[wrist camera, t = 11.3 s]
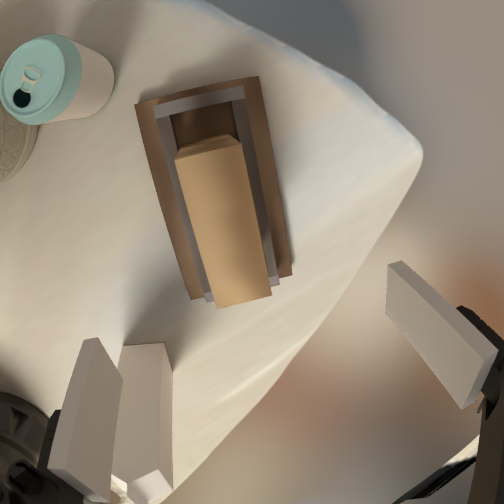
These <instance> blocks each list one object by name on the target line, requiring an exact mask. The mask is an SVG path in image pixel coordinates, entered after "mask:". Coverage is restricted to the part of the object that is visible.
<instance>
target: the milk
mask: <svg viewBox="0 0 504 504" xmlns="http://www.w3.org/2000/svg"><path fill="white" fill-rule="evenodd" d="M117 370H118V372H119V373H120V375H121V376H122V378H123V385H122V391H121V397H120V404H119V411H118V418H117V426H116V434H115V443H114V452H113V462H112V473H111V479H112V480H113V481H114V482H115V483H116V484H117V485H118V486H119V487H120V488H121V489H122V490H123V491H125V492H126V493H127V497H128V499H129V500H130V501H131V502H133V503H134V504H148V503H150V502H152V501H154V500H156V499H158V498H160V497H162V496H164V495H166V494H168V493H170V492H172V491H173V464H172V384H173V372H172V369H171V365H170V362H169V359H168V355H167V352H166V348H165V345H164V343H154V344H141V345H126V346H122V349H121V354H120V358H119V363H118V368H117Z"/></svg>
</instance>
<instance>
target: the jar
mask: <svg viewBox="0 0 504 504" xmlns="http://www.w3.org/2000/svg"><path fill="white" fill-rule="evenodd" d="M1 72H2V71H0V76H1ZM37 130H38V125H29V124H25V123H22V122H20V121H19V120H17V119H16V118H14V117H13V116H12V115H11V114H10V113H9V112H8V111H7V110H6V109H5V107H4V106H3V104H2V102H1V99H0V184H1V183H3V182H5V181H7V180H8V179H10V178H11V177H12V176H13V175H14V174H16V172H17V171H18V170H19V169H20V168H21V167H22V166H23V165H24V164H25V162H26V161H27V159H28V157H29V156H30V154H31V151H32V149H33V147H34V144H35V140H36V136H37Z"/></svg>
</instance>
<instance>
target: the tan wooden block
mask: <svg viewBox="0 0 504 504" xmlns="http://www.w3.org/2000/svg"><path fill="white" fill-rule="evenodd" d="M174 161H175V165H176V169H177V173H178V177H179V180H180V184H181V188H182V191H183V195H184V199H185V202H186V206H187V210H188V213H189V217H190V220H191V224H192V227H193V231H194V234H195V238H196V241H197V244H198V248H199V251H200V255H201V258H202V261H203V265H204V268H205V271H206V275H207V278H208V281H209V284H210V288H211V291H212V294H213V297H214V300H215V303H216V307H217V309H220V308H224V307H228V306H232V305H236V304H240V303H244V302H248V301H252V300H256V299H260V298H264V297H268V296H271V295H272V292H271V287H270V282H269V277H268V272H267V271H268V268H267V263H266V258H265V253H264V248H263V243H262V238H261V233H260V228H259V223H258V218H257V213H256V208H255V203H254V198H253V193H252V188H251V183H250V178H249V174H248V169H247V164H246V161H245V159H244V154H243V149H242V144H241V143H240V142H238V141H237V140H236V139H235V138H233V137H232V136H231V135H229V134H228V133H227V134H222V135H218V136H214V137H210V138H205V139H201V140H197V141H193V142H190V143H186V144H182V145H181V147H180V149H179V151H178V154H177V156H176V158H175V160H174Z"/></svg>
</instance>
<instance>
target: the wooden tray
mask: <svg viewBox="0 0 504 504" xmlns="http://www.w3.org/2000/svg"><path fill="white" fill-rule="evenodd" d="M134 106H135V110H136V115H137V119H138V123H139V127H140V131H141V135H142V139H143V143H144V147H145V151H146V155H147V159H148V163H149V166H150V170H151V174H152V177H153V181H154V185H155V188H156V192H157V195H158V199H159V202H160V206H161V209H162V212H163V216H164V219H165V222H166V226H167V229H168V232H169V236H170V239H171V242H172V245H173V248H174V251H175V255H176V258H177V261H178V264H179V267H180V270H181V273H182V276H183V279H184V282H185V285H186V288H187V291H188V294H189V296H190V299H191V300H193V299H197V298H201V297H205V299H206V302H212V301H215V300H214V297H213V294H212V291H211V288H210V284H209V281H208V278H207V275H206V271H205V268H204V265H203V261H202V258H201V255H200V251H199V248H198V244H197V241H196V238H195V234H194V231H193V227H192V224H191V220H190V217H189V213H188V210H187V206H186V202H185V199H184V195H183V191H182V188H181V184H180V180H179V177H178V173H177V169H176V165H175V161H174V160H175V158H176V156H177V154H178V151H179V149H180V147H181V145H182V144H186V143H190V142H193V141H197V140H201V139H205V138H210V137H214V136H218V135H222V134H227V133H228V134H229V135H231V136H232V137H233V138H235V139H236V140H237V141H238V142H240V143H241V144H242V149H243V154H244V159H245V161H246V164H247V169H248V174H249V178H250V183H251V188H252V193H253V198H254V203H255V208H256V213H257V218H258V223H259V228H260V233H261V238H262V243H263V248H264V253H265V258H266V263H267V268H268V271H267V272H268V277H269V282H270V287H273V286H277V285H280V283H279V278H283V277H287V276H291V275H292V268H291V261H290V255H289V248H288V241H287V235H286V228H285V222H284V216H283V209H282V203H281V197H280V191H279V185H278V179H277V173H276V167H275V162H274V156H273V150H272V145H271V139H270V134H269V128H268V123H267V117H266V112H265V107H264V102H263V96H262V91H261V86H260V81H259V76H256V77H249V78H243V79H238V80H232V81H227V82H222V83H217V84H212V85H207V86H203V87H198V88H194V89H190V90H186V91H181V92H178V93H174V94H170V95H166V96H162V97H159V98H155V99H152V100H148V101H145V102H141V103H138V104H135V105H134Z"/></svg>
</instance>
